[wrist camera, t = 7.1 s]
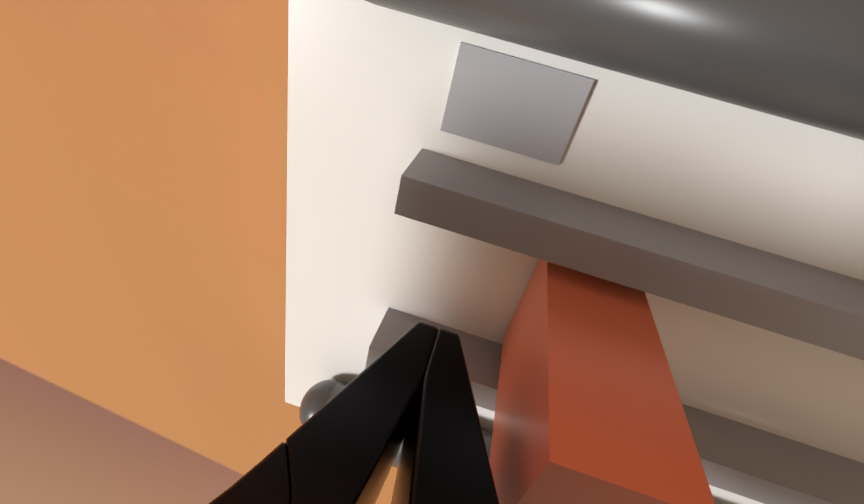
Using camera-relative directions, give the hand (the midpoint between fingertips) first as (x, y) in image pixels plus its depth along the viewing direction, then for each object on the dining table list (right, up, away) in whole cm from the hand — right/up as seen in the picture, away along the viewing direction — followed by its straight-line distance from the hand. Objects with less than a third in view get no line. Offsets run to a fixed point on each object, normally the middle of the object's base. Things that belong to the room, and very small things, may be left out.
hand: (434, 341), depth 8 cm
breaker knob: (+3, 0, +2) cm, 4 cm away
